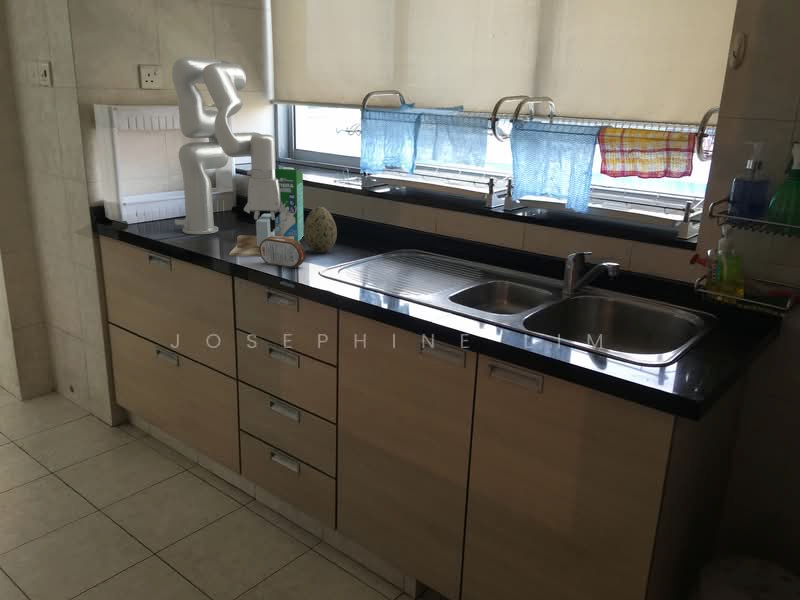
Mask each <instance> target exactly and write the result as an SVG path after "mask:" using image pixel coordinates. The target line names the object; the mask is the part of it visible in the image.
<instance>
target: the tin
mask: <svg viewBox="0 0 800 600" xmlns="http://www.w3.org/2000/svg"><path fill="white" fill-rule="evenodd" d="M299 242H300V241H296V240H292V239H286V238H279V237H268V238H267V239H265V240H263V241H262V242H261V244H260V248H259V250H260V255H261V256H260V257H261V259H262V260H263V261H264V262H265V263H266V264H267V265H272V266H278V267H283V266H284V268H289V267H290V269H292V268H296V267H299V266H301V265H302V264H303V263H304V262H305V259H306V251H305V248H304V247H303V245H302V244H301V243H299Z"/></svg>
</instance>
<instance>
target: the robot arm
mask: <svg viewBox="0 0 800 600" xmlns="http://www.w3.org/2000/svg"><path fill="white" fill-rule="evenodd" d="M171 79H172V84H173V87H174V90H175V92H176V98H177V107H178V115H179V116H178V117H179V125H180V130H181V134H182V135H183V136H184V137H185V138H188V139H208V141H199V142H198V141H197V142H196V141H195V142H187V143H185V144H183V145H182V146H181V147H180V148H179V151H178V160H179V164H180V168H181V172H182V179H183V181H182V182H183V191H184V192H183V193H184V196H183V197H184V207H185V208H184V209H185V218H184V219H174V224H175V226H179V227H181V226H182V227H183V228H182V231H181V232H182V233H184V234H188V235H209V234H211V235H212V234H215V233H217V232H219V227H218V226H217V225H215V224H214V223H215V222H214V207H213V190H212V189H213V188H212V187H213V186H212V181H211V179H210V176H209V175H208V174H207V172H206V170H214V169H222V168H224V167H226V166H227V164H228V161H229V158H244V157H245V158H246V157H248V158H249V157H250V160H251V161H250V163H251V164H250V165H251V166H250V167H251V169H250V170H246V174H247V175H248V176H250V178H249V180H248V185H247V187H248V189H247V203H246V204H245V206H244V207H243V211H244V212H246V213H247V214H249V215H251V217H252V218H253V219H254V220H255V223H256V221H257V220H258V219H259V218H260V217H261V216H260V212H270V213H269V214H271V220H270V231H271V232H273V231H274V229H275V228H276V224H275V219H276V218H277V217H278V216H279V215H280V214H282V213H283V212H285V211H286V208H285V206H284V205H283V203H282V202H281V195H280V187H279V182H278V179H277V178H276V169H277V168H276V145H275V142H276V141H275V137H274V136H273V135H271V134H262V133H258V132H233V131H232V129H231V127H230V125H229V122H228V118H230V117H232V116H234V115H235V114H237V113H238V112H240V110H241V109H242V107H243V105H244V103H243V100H242V98H241V96H240V94H239V92H238V91H241V90H243V89H244V88H245V86H246V85H247V76H246V72H245V70H244V68H242V66H241V65H239V64H237V63H234V62H231V61H228V60H225V59H221V58H216V57H202V56H183V57H180V58H178V59H176V60H175V62H174V63H173V65H172V69H171ZM196 84H199V85H200V84H203V85H205V86H206V89H207V91H208V93H209V95H210V96H211V97H210V98H211V99H212V101H213V104H214V106H215V108H216V110H215V109H205V105H204V103H205V102H204V96H203V94H202V92H201V90H200V89H199V88H198V87H197V85H196ZM279 208H280V210H279V211H277V212H276V210H278V209H279Z"/></svg>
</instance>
